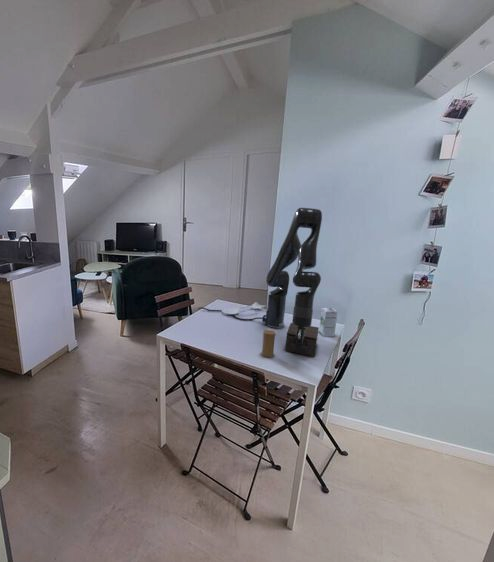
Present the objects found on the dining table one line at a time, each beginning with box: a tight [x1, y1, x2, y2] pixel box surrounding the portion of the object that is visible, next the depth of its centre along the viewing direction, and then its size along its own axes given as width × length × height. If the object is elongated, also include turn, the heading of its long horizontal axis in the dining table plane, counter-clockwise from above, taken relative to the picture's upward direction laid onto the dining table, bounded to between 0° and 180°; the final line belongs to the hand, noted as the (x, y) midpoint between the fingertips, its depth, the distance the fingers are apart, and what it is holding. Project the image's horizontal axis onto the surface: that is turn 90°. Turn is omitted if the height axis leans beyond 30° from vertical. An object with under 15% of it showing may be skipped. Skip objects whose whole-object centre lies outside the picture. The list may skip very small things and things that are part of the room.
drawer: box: [286, 335, 315, 357], centre depth 154 cm, size 18×11×8 cm, turn 145°
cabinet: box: [284, 322, 320, 357], centre depth 157 cm, size 15×13×10 cm
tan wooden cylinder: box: [261, 329, 276, 358], centre depth 151 cm, size 5×5×12 cm
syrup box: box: [318, 307, 338, 337], centre depth 170 cm, size 6×6×14 cm
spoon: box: [221, 301, 267, 316], centre depth 210 cm, size 9×32×4 cm, turn 110°
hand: (298, 349), depth 146 cm, fingers closed
